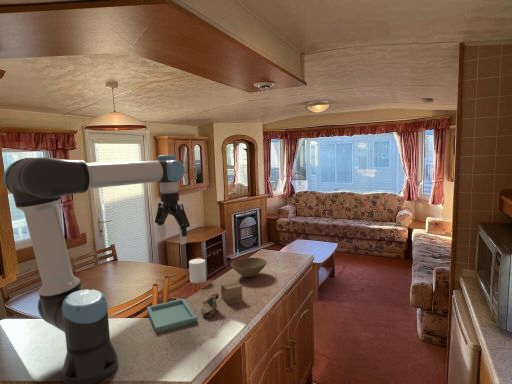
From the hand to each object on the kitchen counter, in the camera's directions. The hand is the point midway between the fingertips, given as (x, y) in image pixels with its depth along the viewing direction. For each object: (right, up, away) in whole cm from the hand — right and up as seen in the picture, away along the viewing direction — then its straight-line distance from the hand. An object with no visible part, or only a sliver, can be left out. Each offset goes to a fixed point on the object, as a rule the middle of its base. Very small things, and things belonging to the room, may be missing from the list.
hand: (173, 241), depth 141 cm
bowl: (+32, -23, +32) cm, 51 cm away
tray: (+1, -29, -9) cm, 30 cm away
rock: (+16, -28, -6) cm, 33 cm away
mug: (+5, -24, +31) cm, 40 cm away
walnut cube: (+25, -27, +5) cm, 36 cm away
